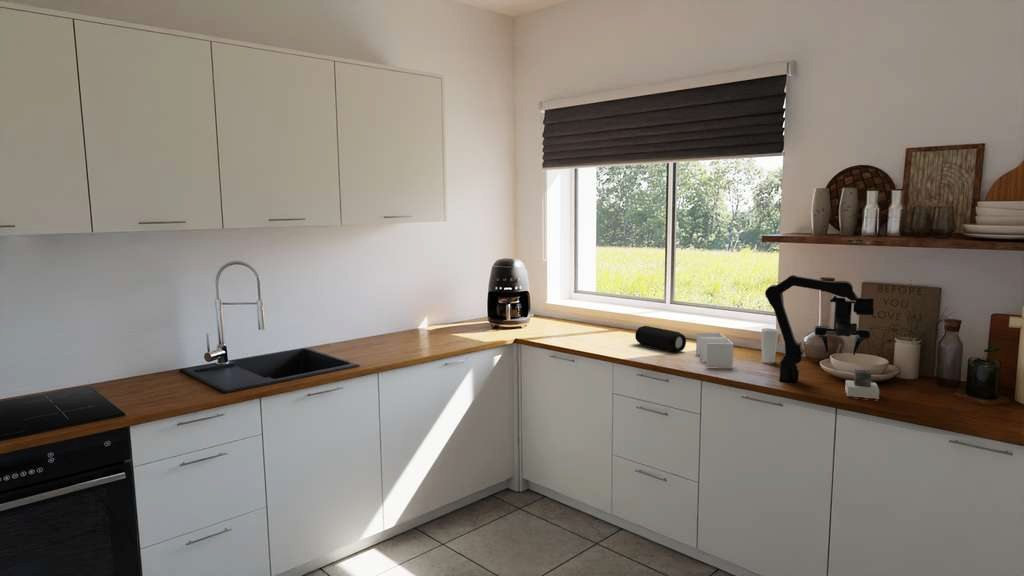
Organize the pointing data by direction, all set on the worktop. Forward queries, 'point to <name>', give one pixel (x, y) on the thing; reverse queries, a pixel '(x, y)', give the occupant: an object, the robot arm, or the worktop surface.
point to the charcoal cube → (862, 378)
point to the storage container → (715, 350)
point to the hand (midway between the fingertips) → (840, 353)
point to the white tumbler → (769, 345)
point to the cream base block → (862, 390)
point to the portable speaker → (660, 338)
